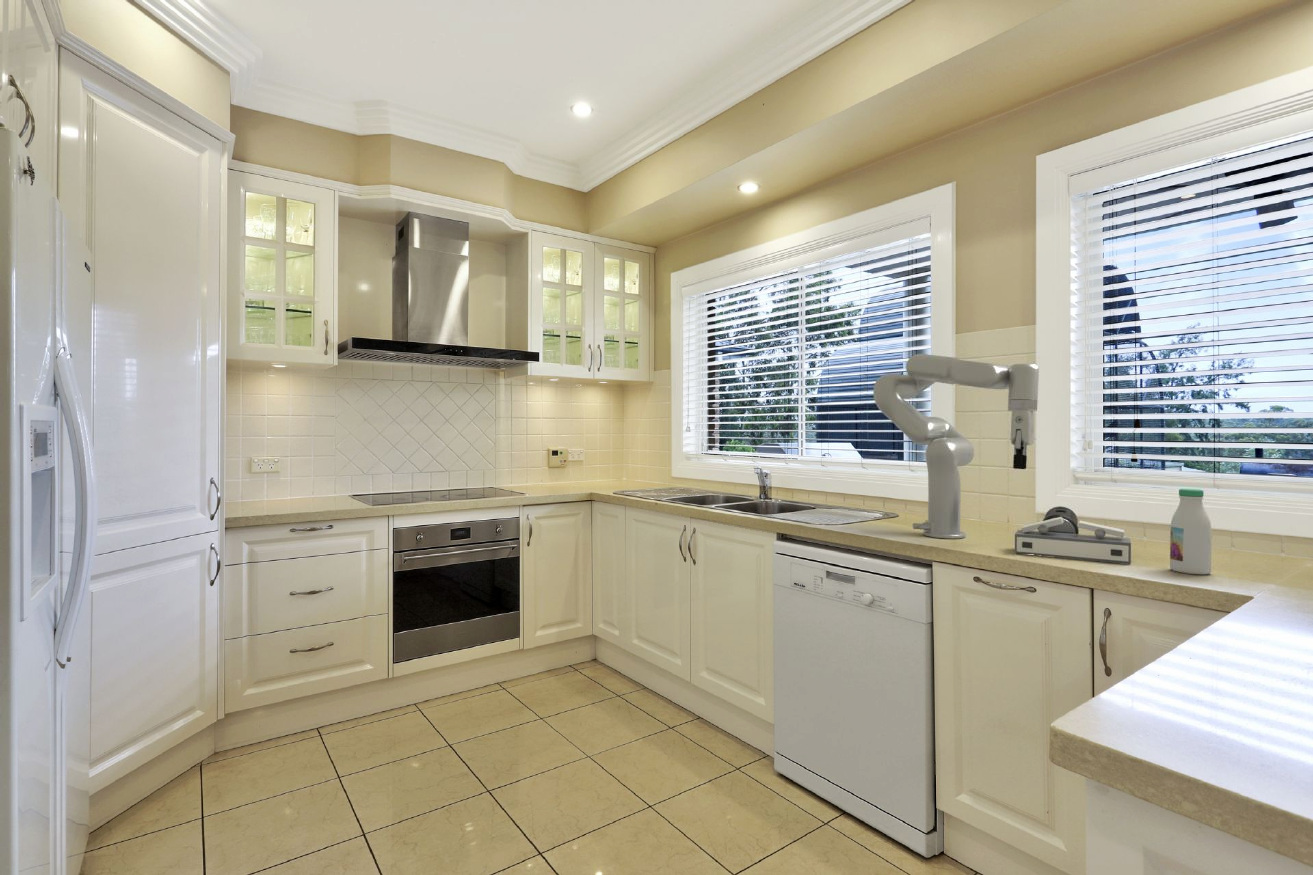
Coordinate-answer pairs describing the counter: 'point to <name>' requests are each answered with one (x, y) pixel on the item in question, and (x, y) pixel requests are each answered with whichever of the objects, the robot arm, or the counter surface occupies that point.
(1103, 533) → the switch
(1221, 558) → the counter surface
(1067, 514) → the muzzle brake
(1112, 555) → the switch box
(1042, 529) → the switch
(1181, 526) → the milk bottle
